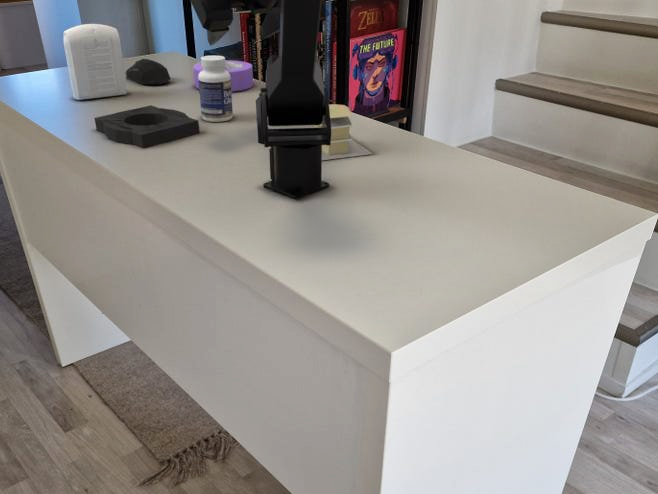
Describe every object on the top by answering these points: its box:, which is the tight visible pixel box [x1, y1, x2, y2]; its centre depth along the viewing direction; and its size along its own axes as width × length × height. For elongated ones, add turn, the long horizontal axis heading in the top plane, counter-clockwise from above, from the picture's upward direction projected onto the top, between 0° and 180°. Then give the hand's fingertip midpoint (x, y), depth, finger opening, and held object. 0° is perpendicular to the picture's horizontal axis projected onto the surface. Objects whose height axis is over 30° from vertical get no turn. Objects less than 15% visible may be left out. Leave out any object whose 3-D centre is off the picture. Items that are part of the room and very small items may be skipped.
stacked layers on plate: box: [313, 103, 373, 161], centre depth 101 cm, size 10×9×6 cm
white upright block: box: [62, 23, 128, 101], centre depth 123 cm, size 10×4×12 cm, turn 123°
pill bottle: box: [198, 55, 234, 123], centre depth 113 cm, size 5×5×10 cm
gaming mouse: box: [125, 58, 171, 86], centre depth 137 cm, size 6×15×4 cm, turn 42°
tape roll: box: [192, 59, 254, 93], centre depth 133 cm, size 12×12×4 cm
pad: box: [94, 104, 201, 149], centre depth 108 cm, size 13×13×2 cm
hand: (236, 39), depth 102 cm, fingers open, 9 cm apart
